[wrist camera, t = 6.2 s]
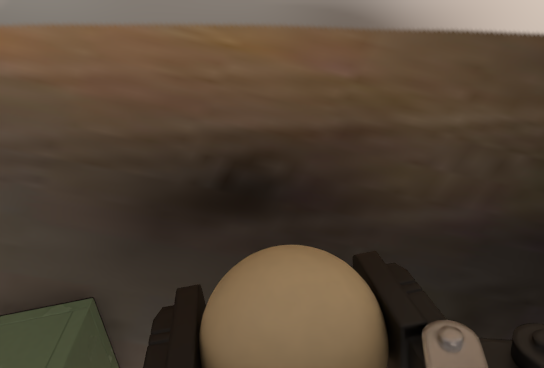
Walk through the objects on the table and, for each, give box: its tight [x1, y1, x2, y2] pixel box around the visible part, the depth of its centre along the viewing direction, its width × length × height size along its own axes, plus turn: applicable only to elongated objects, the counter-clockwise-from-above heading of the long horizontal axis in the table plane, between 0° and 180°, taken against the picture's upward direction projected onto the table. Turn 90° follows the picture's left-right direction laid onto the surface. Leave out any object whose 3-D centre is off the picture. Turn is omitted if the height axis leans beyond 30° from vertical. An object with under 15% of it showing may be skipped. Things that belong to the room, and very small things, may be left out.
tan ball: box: [199, 245, 389, 368], centre depth 11 cm, size 5×5×5 cm
